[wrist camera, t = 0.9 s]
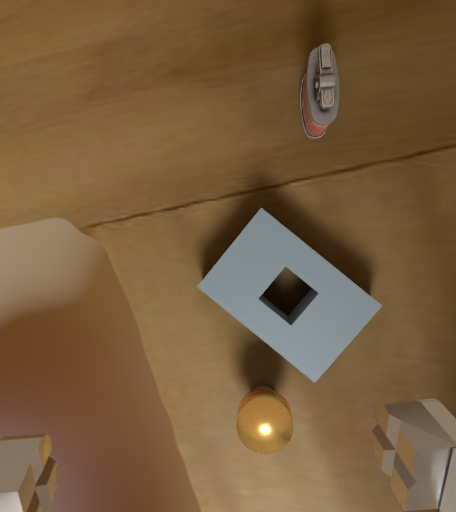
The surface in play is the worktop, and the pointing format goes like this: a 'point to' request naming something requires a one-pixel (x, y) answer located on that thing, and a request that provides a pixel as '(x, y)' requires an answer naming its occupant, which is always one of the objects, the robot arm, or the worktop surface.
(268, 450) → the orange domed piece
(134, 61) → the worktop surface
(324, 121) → the lighter
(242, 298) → the blue-grey slotted block
